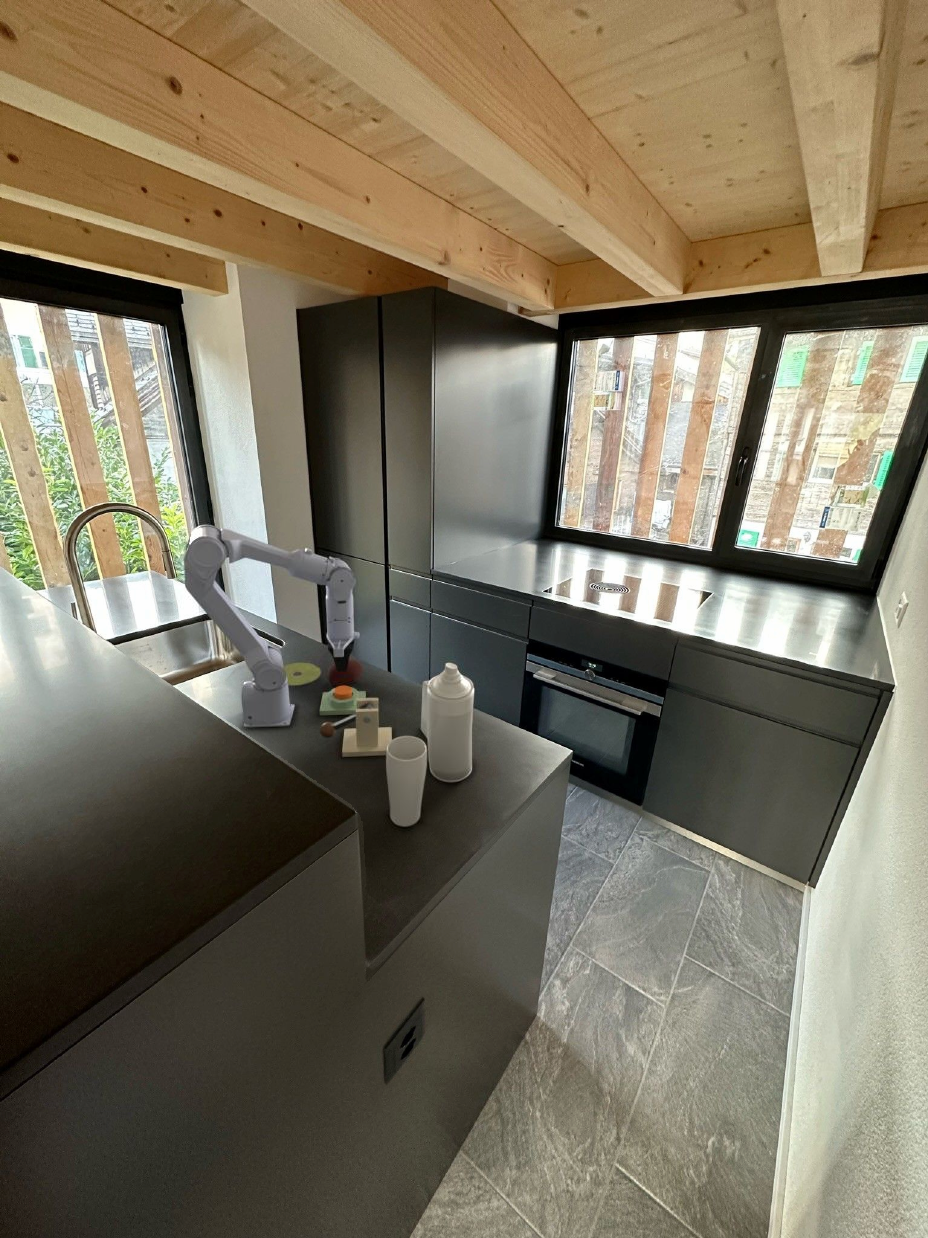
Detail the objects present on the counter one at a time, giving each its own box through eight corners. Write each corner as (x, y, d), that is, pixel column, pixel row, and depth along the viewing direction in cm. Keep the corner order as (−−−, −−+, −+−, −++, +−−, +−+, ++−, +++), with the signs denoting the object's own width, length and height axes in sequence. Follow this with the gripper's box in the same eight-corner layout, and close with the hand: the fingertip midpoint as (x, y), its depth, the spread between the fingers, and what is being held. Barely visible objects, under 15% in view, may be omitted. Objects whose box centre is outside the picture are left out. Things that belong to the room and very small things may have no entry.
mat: (314, 665, 137) (314, 659, 136) (326, 685, 128) (326, 679, 127) (270, 674, 132) (269, 667, 131) (279, 695, 123) (279, 688, 122)
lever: (324, 743, 105) (316, 732, 103) (325, 733, 108) (317, 722, 106) (377, 719, 104) (369, 707, 103) (377, 710, 107) (369, 699, 106)
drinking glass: (418, 835, 87) (420, 764, 81) (380, 827, 88) (380, 756, 82) (428, 806, 93) (432, 739, 87) (393, 799, 94) (393, 732, 88)
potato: (320, 686, 128) (319, 664, 125) (350, 670, 136) (349, 650, 133) (341, 696, 124) (340, 674, 122) (370, 679, 132) (370, 658, 130)
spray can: (484, 786, 99) (495, 673, 89) (431, 797, 95) (436, 681, 85) (463, 749, 109) (471, 644, 99) (414, 758, 105) (417, 650, 95)
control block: (319, 715, 117) (319, 704, 115) (323, 696, 124) (322, 685, 123) (364, 714, 118) (364, 703, 117) (365, 695, 125) (365, 684, 124)
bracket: (342, 757, 104) (340, 716, 100) (344, 733, 111) (343, 694, 107) (392, 755, 106) (392, 715, 102) (391, 731, 113) (391, 693, 109)
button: (333, 700, 118) (333, 694, 117) (335, 691, 121) (334, 685, 121) (351, 700, 118) (351, 694, 118) (352, 690, 122) (352, 685, 121)
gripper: (357, 629, 106) (358, 686, 111) (360, 603, 119) (361, 655, 124) (322, 629, 105) (325, 687, 110) (328, 603, 118) (331, 655, 123)
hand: (342, 670), depth 117 cm, fingers closed
